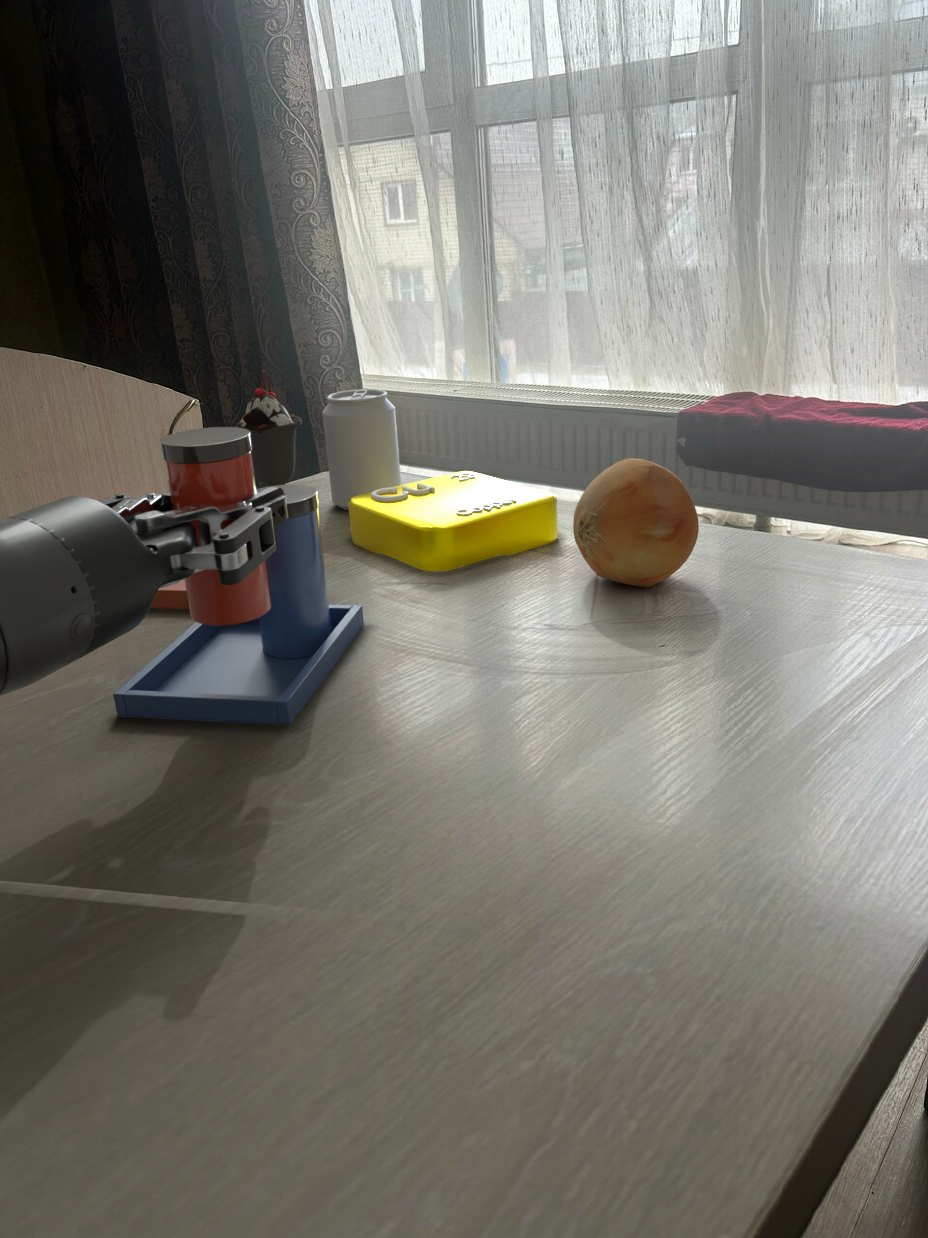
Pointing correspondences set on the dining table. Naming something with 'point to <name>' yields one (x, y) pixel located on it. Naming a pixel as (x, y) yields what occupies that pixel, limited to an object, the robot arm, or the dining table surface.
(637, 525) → the onion
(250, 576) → the red jar
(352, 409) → the can
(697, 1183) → the dining table surface
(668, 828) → the dining table surface
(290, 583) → the blue jar
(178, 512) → the robot arm
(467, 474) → the element tile
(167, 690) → the blue tray
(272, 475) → the sundae
